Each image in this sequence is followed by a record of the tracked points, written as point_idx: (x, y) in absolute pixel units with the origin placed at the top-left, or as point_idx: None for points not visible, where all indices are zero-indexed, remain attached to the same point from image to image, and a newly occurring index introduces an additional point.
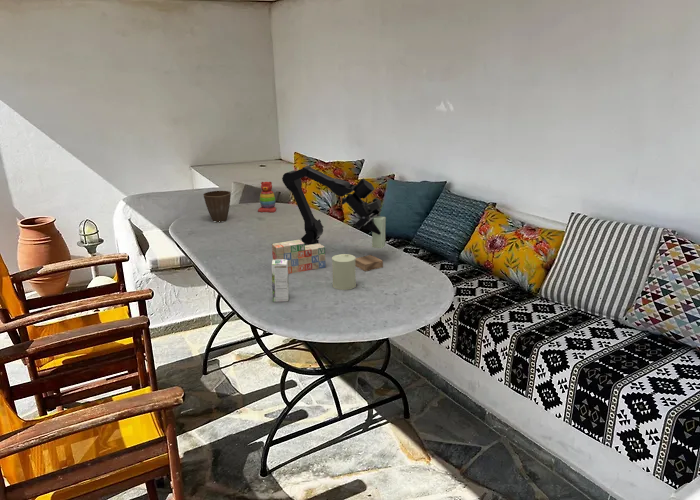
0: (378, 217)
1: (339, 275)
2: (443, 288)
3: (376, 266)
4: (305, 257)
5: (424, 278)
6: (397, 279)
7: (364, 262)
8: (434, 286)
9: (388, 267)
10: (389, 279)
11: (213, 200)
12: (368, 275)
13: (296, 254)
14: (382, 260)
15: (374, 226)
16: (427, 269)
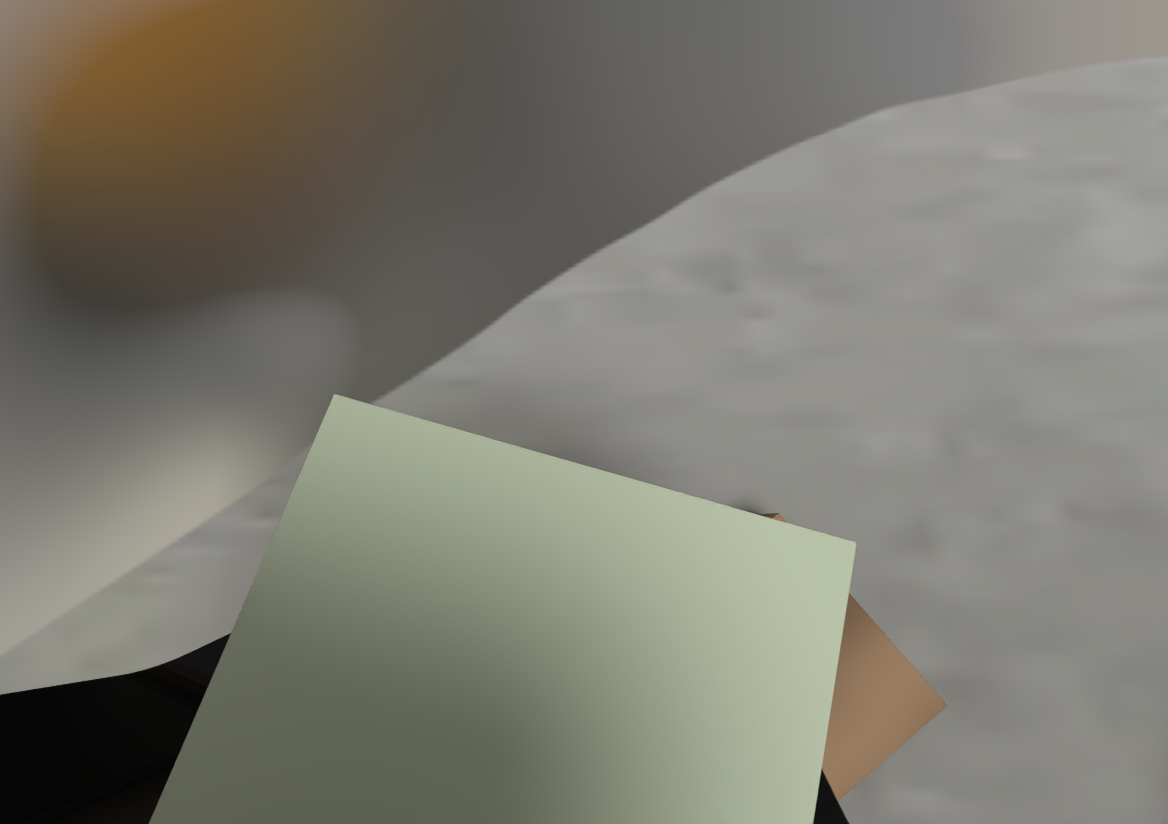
0: (411, 791)
1: None
2: (1118, 90)
3: None
4: None
5: (952, 204)
6: (1033, 385)
7: (878, 715)
8: (1099, 140)
9: (757, 465)
10: (1053, 447)
11: None
12: (1005, 641)
13: None
14: (776, 516)
15: (832, 819)
16: (757, 194)
